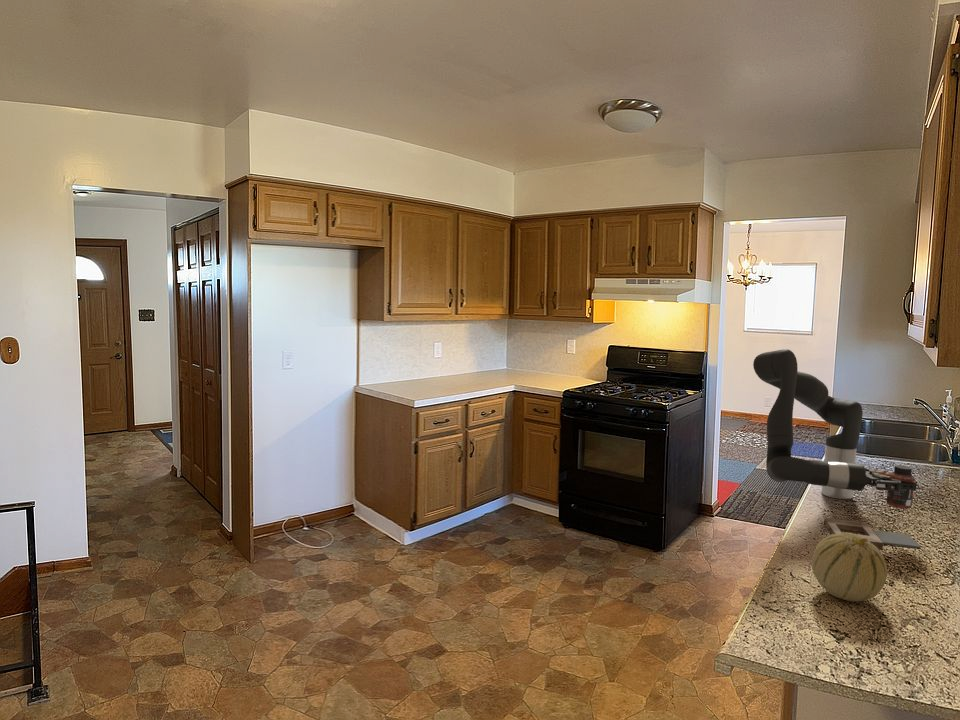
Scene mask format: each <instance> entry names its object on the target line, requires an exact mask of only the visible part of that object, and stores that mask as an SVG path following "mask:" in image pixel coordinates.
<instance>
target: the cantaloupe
mask: <svg viewBox="0 0 960 720" xmlns="http://www.w3.org/2000/svg"><path fill="white" fill-rule="evenodd" d="M858 535H859V534H857V535H856V534H855V533H851V532H842V533H837V534H830V535H827V536H826V537H824V538H823V539H821V541H820V542H819V543H818V544H817V545H816V547H815V548H814V552H813V555H812V559H811V567H812V568H811V569H812V572H813V574H814V577H815V579H816V580H817V582H818V583H819V585H820V586H821V587H822V588H823V589H824V590H826V591H827V592H828V594H830V595H831V596H834V597H836V598H838V599H841V600H845V601H847V602H853V603H854V602H855V603H856V602H858V603H859V602H864V601H868V600H871V599H873V598H874V597H876V596H877V595H878V594H879V593H880V592H881V591H882V589H883V588H884V586H885V584H886V581H887V576H888V568H887V564H886V561H885V558H884V556H883V554H882V552H881V551H880V548H877V547H876V546H875V545H873V544H872V543H870V542H869V541H868V540H867V539H866V538H863V537H861V536H858Z"/></svg>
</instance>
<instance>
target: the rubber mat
mask: <svg viewBox="0 0 960 720" xmlns="http://www.w3.org/2000/svg"><path fill="white" fill-rule="evenodd" d="M873 532H874V533H875V534H876V535H877V536H878V537H879V539H880V540H881V541H882V542H883V545H888V544H890V546H896V545H897V547H906V548H913V549H921V546H920V544H918V542H917V541H915V540H914V538H912V537H911V536H910V535H909V534H907V533H897V532H888V531H881V530H873Z"/></svg>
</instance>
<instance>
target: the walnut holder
mask: <svg viewBox="0 0 960 720" xmlns="http://www.w3.org/2000/svg"><path fill="white" fill-rule="evenodd" d="M823 520H824V521H823V524H824V525H825V526H826V528H827V529H828V531H829V532H830V534H831V533H832V534H837V533H843V532H842V531H841V530H842V529H844V531H850V530H852V531H853V532H859V531H861V532H860V533H863V534H856V535H858V536H861V537H863V538H866V539H867V540H868V541H869V542H870V543H872V544H873V545H875V546H876V547H879V548H878V549H884V544H883V542H882V541H881V540H880V539H879V537H878V536H877V535H876V534H875V533H874V532H873V531H874V530H873V529H872V528H871V527H870V526H869V524H868V523H867V522H865V521H864V522H863V521H855V520H848V519H837V518H829V517H824V518H823ZM852 531H851V532H852ZM832 534H831V535H832ZM864 534H865V535H864Z"/></svg>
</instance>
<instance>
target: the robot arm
mask: <svg viewBox="0 0 960 720" xmlns="http://www.w3.org/2000/svg"><path fill="white" fill-rule="evenodd" d="M752 365H753V366H752V367H753V370H754V372H755V374H756V376H757V377H758V378H759V379H760V380H761V381H762V382H764V383H766V384H768V385H771V386H773V387H775V388H776V389H779V392H778V395H777V398H776V399H775V401H774V403H773V405H772V407H771V409H770V411H769V413H768V416H767V419H766V439H767V440H766V441H767V450H766V451H767V452H766V463H765V464H766V465H765V466H766V468H765V469H766V472H767V475H768V476H769V478H770V479H771V480H773V481H775V482H777V483H783V482H784V483H785V482H787V481H790V482H800V483H801V482H802V483H806V484H808V485H811V486H812V485H813V486H821V494H822V495H823V496H826V497H829V498H833V499H838V500H839V499H840V500H850V499H852V498H853V491H858V492H861V491H862V492H863V490H864V489H865V487H866V486H870V487H871V488H875V490H877V491H886V492H888V491H900V489H907V490H913V491H916V490H917V486H918V484H917V482H916V481H915V482H911V481H902V480H896V479H892V478H891V477H890V473H891V472H890V471H889V472H888V471H887V470H882V469H874V468H867V467H865V466H864V464H862V463H856V462H857V461H856V459H857V448H858V447H857V446H858V444H859V440H860V435H861V427H862V421H863V412H864V411H863V407H862V405H861V403H860V402H858V401H855V400H849V399H843V398H842V399H841V398H837V397H836V398H835V397H832V396H830V395H829V389H828V386H826V384H825V383H824V382H823V381H821V380H820V379H819V378H817V377H816V376H814V375H812V374H809V373H807V372H803V371H802V372H801V371H798V370H799V369H798V360H797V357H796V355H795V353H794V352H793V351H792V350H791V349H787V348H785V349H778V350H772V351H766V352H762V353H760V354H757V356H756V357H754V360H753V364H752ZM795 400H796V401H798V403H800V404H802V405H803V406H805V407H807V408H808V409H810V410H812V411H813V412H815V413H816V414H817V415H818V416H819V417H820V418H821V419H822V420H823V421H824V422H826V423H827V424H829V425H832V426H836V427H842V429H841V432H840V433H839V434H830V435H828V436H826V438H825V449H824V461H823V460H816V459H815V460H813V459H812V460H810V459H809V460H808V459H804V458H798V457H794V456H792V448H793V446H794V425H793V415H794V414H793V412H794V405H795ZM892 484H895V486H891V485H892Z"/></svg>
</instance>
